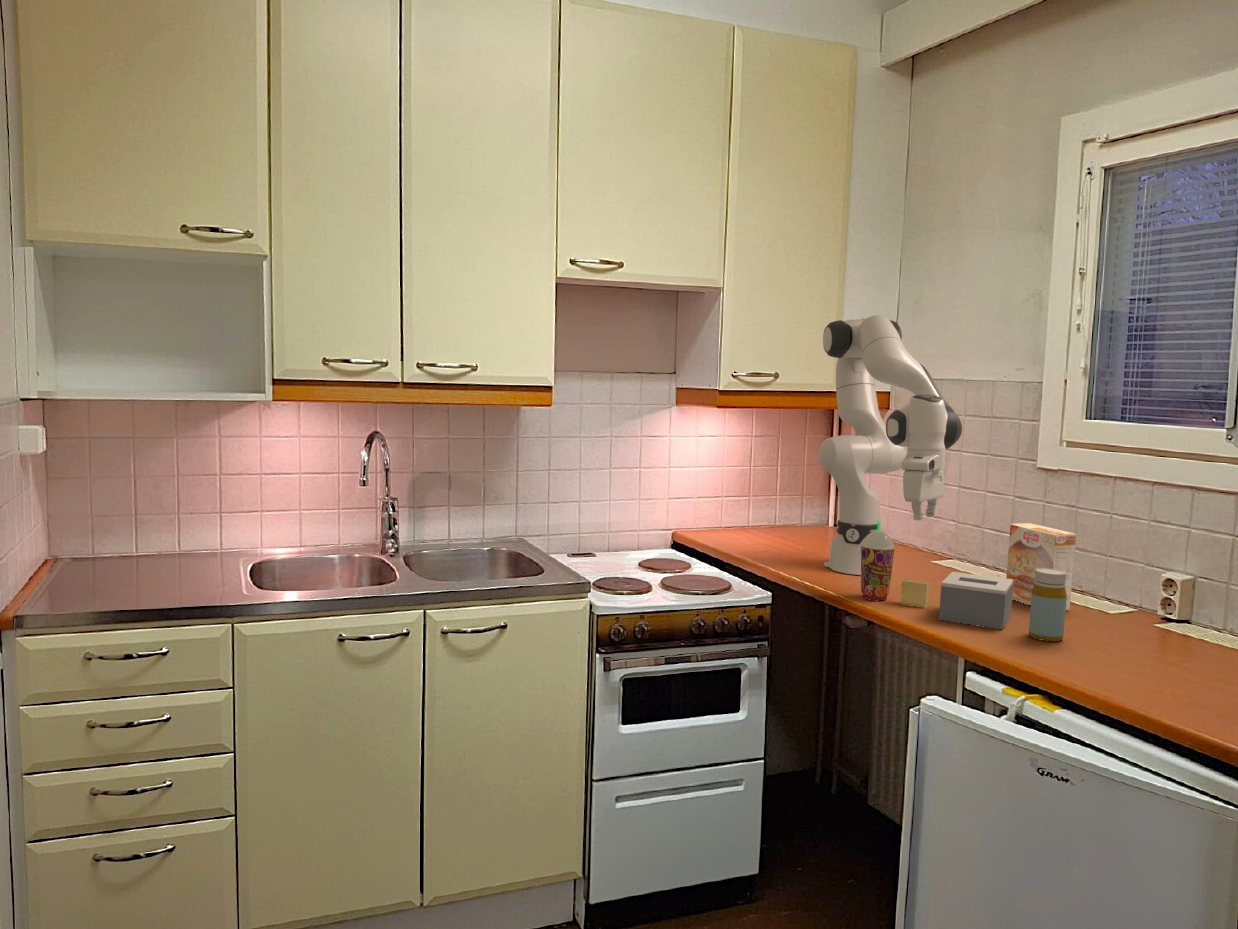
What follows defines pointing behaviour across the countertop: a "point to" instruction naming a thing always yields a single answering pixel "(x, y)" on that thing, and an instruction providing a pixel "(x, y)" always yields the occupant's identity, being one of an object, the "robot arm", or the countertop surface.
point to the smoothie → (876, 565)
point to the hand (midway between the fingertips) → (924, 518)
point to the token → (914, 593)
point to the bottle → (1048, 605)
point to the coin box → (976, 600)
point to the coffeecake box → (1038, 557)
